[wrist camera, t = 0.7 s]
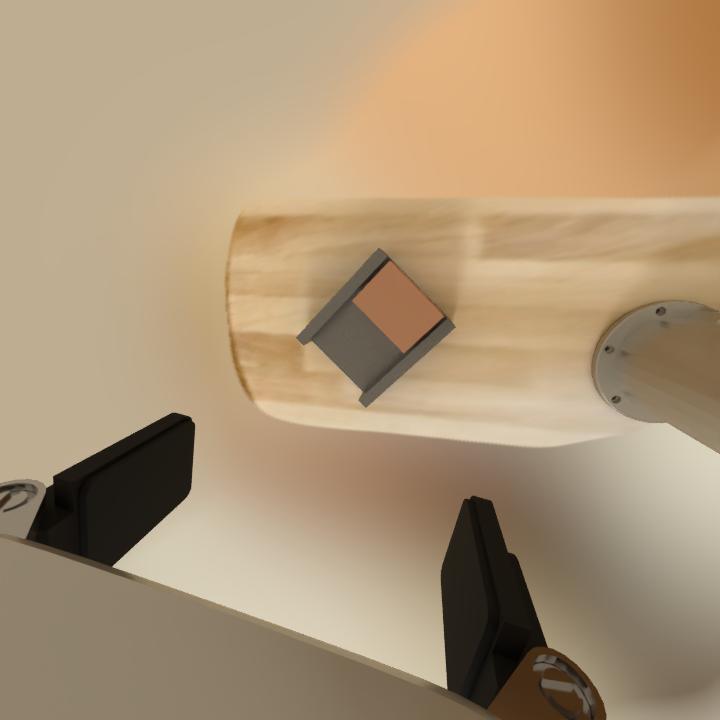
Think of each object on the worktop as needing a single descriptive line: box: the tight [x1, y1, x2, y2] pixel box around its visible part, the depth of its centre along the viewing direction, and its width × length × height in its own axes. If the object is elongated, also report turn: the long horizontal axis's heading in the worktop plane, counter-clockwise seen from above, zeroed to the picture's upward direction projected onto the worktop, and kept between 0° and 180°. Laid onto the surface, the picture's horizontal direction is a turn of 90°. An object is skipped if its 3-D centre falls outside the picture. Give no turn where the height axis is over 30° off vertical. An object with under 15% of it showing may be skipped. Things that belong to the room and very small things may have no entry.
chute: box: [296, 248, 455, 407], centre depth 37 cm, size 13×11×4 cm
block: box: [352, 261, 444, 353], centre depth 34 cm, size 5×7×6 cm
